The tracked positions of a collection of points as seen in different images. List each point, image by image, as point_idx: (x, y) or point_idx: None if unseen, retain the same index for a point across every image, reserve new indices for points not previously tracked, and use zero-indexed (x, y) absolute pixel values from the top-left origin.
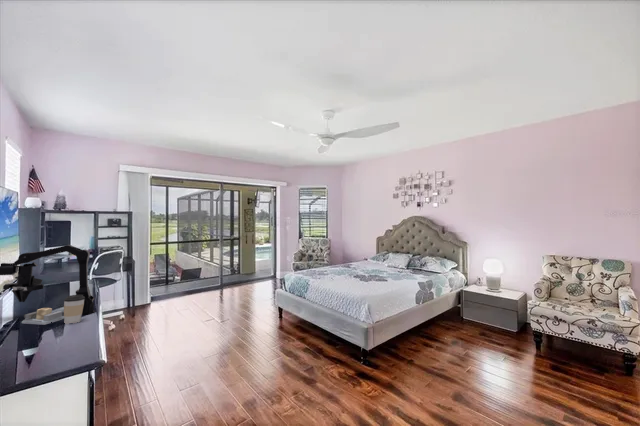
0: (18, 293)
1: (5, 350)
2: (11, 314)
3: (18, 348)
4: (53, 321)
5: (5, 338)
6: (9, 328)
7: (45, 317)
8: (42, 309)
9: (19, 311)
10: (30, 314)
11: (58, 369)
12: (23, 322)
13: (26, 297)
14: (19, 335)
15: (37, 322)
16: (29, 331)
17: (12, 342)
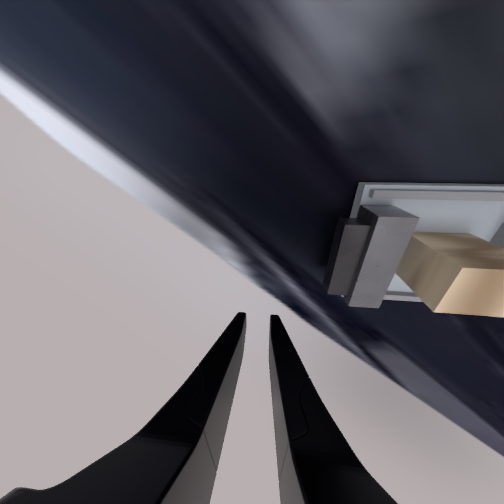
0: (213, 462)
1: (472, 435)
2: (92, 149)
3: (499, 432)
4: None
5: (409, 392)
6: (339, 334)
7: None
8: (480, 309)
9: (28, 52)
10: (379, 303)
11: None
12: None
13: (297, 360)
14: (436, 379)
15: None
16: (447, 356)
17: (455, 410)
